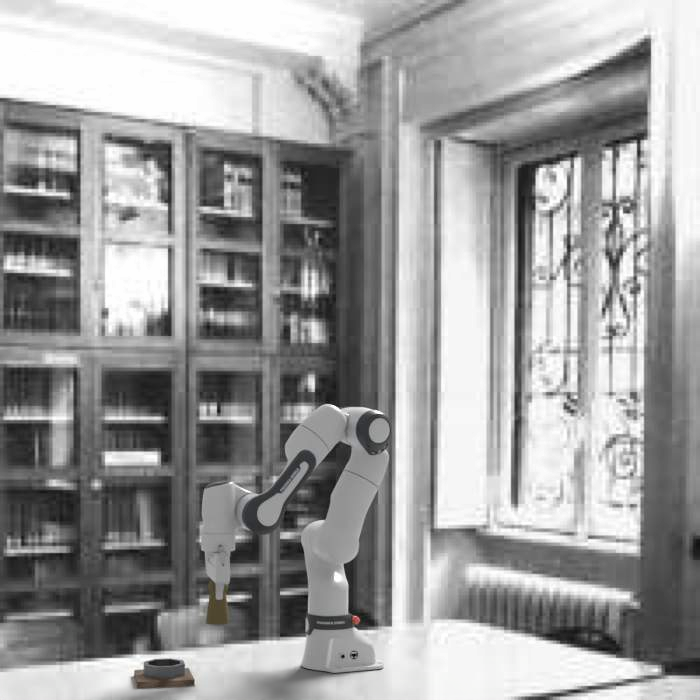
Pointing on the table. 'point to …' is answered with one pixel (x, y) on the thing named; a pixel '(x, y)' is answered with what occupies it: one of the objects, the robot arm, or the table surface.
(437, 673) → the table surface
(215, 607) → the cork
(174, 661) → the metal collar
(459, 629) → the table surface
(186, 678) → the walnut base
